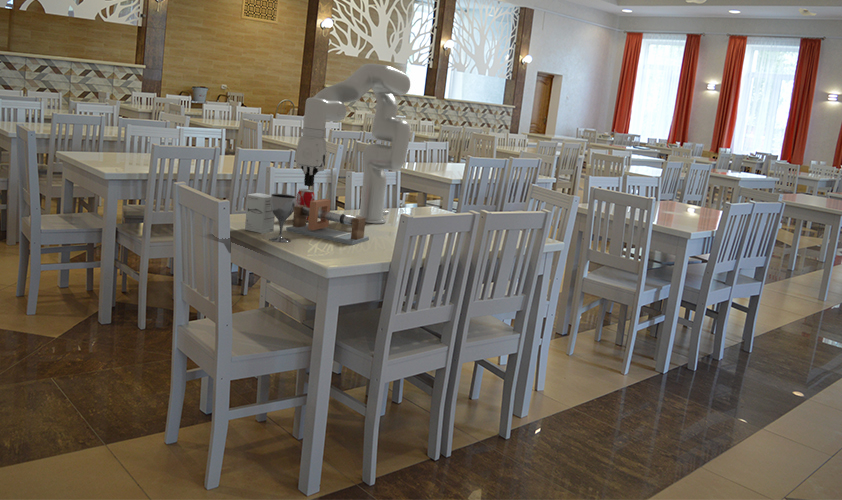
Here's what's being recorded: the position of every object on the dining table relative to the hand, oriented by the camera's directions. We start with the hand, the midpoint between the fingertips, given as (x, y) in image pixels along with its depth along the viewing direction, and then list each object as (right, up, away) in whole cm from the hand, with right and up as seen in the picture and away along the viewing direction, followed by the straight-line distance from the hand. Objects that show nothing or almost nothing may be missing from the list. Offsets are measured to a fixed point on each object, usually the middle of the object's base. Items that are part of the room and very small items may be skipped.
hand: (308, 185), depth 239 cm
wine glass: (-7, -20, -15) cm, 26 cm away
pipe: (+7, -13, 0) cm, 15 cm away
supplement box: (-16, -16, -5) cm, 24 cm away
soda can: (-6, -12, +22) cm, 26 cm away
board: (+7, -18, +1) cm, 19 cm away
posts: (+7, -18, +1) cm, 19 cm away
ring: (+3, -15, +2) cm, 15 cm away
